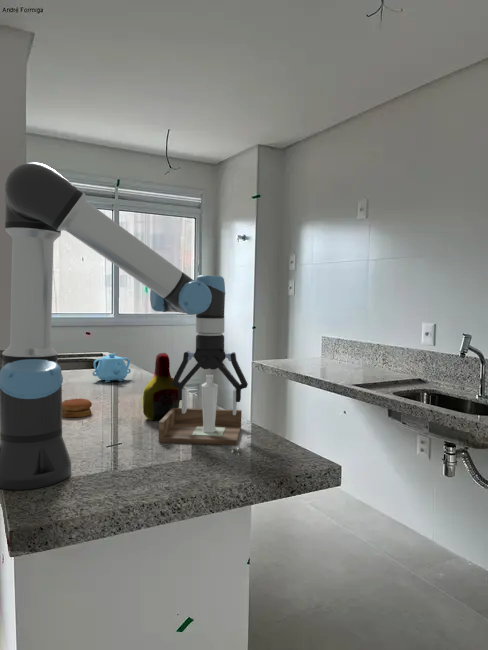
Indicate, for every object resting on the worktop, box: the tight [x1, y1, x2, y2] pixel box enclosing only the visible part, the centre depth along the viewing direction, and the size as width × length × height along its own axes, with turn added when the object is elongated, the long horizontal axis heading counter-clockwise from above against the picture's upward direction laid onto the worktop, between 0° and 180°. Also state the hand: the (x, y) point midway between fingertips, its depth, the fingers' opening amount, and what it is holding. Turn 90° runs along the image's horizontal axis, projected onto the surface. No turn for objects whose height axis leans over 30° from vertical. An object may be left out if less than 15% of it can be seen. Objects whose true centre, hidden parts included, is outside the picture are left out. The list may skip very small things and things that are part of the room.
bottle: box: [141, 352, 181, 421], centre depth 150 cm, size 12×6×20 cm, turn 119°
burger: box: [62, 398, 93, 418], centre depth 154 cm, size 10×9×5 cm
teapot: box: [92, 353, 131, 383], centre depth 212 cm, size 20×17×12 cm
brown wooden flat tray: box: [158, 407, 242, 446], centre depth 133 cm, size 16×20×5 cm
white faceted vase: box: [201, 374, 219, 433], centre depth 132 cm, size 5×4×15 cm
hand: (209, 413), depth 132 cm, fingers open, 13 cm apart
